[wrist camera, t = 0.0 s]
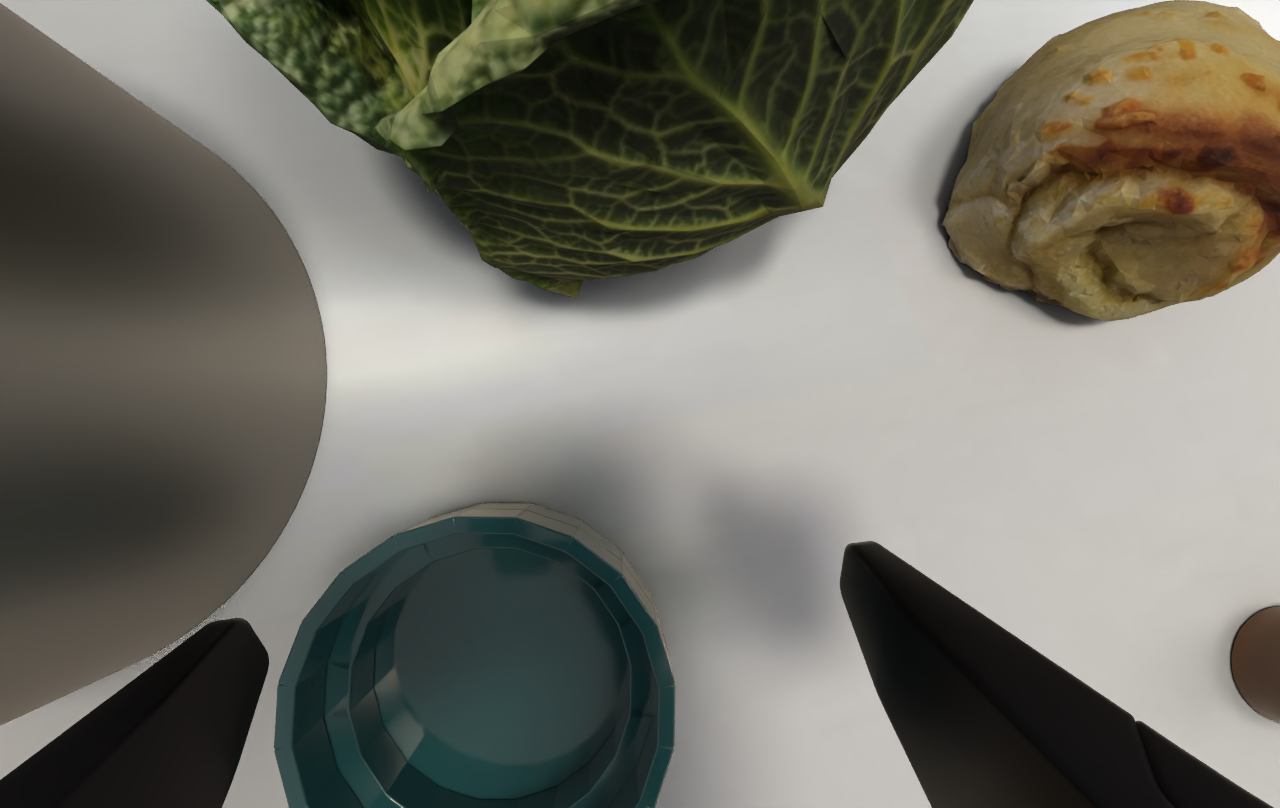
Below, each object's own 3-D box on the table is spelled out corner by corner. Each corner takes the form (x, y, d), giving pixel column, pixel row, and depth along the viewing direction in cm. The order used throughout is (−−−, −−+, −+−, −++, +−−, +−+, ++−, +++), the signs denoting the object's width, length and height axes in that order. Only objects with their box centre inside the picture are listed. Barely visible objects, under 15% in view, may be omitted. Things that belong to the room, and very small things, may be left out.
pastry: (951, 339, 24) (1116, 290, 16) (915, 72, 25) (1056, -102, 17) (1249, 312, 25) (1550, 252, 17) (1205, 52, 25) (1475, -125, 17)
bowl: (725, 697, 23) (751, 761, 18) (461, 895, 22) (421, 1013, 17) (547, 439, 23) (530, 440, 19) (281, 624, 22) (195, 671, 18)
